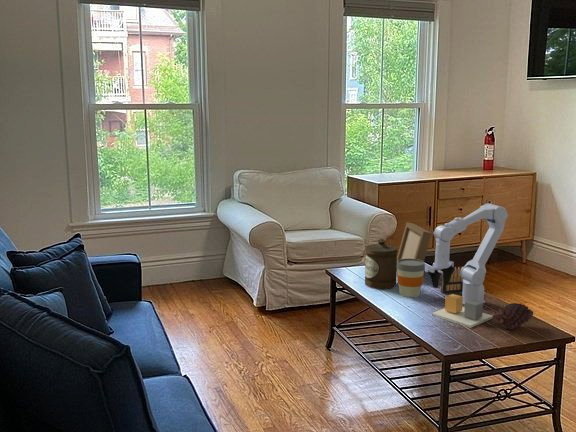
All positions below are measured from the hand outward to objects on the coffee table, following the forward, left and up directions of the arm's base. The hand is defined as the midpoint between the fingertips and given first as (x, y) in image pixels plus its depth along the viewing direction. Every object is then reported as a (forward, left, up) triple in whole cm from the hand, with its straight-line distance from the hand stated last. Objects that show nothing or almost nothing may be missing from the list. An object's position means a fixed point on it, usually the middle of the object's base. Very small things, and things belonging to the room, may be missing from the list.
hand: (440, 285), depth 258 cm
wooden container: (-5, -37, -10) cm, 39 cm away
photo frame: (-29, -35, -10) cm, 47 cm away
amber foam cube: (+3, +9, -8) cm, 12 cm away
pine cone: (-2, +33, -10) cm, 34 cm away
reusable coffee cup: (-4, -19, -10) cm, 22 cm away
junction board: (+3, +13, -9) cm, 16 cm away
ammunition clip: (-21, -8, -10) cm, 24 cm away
